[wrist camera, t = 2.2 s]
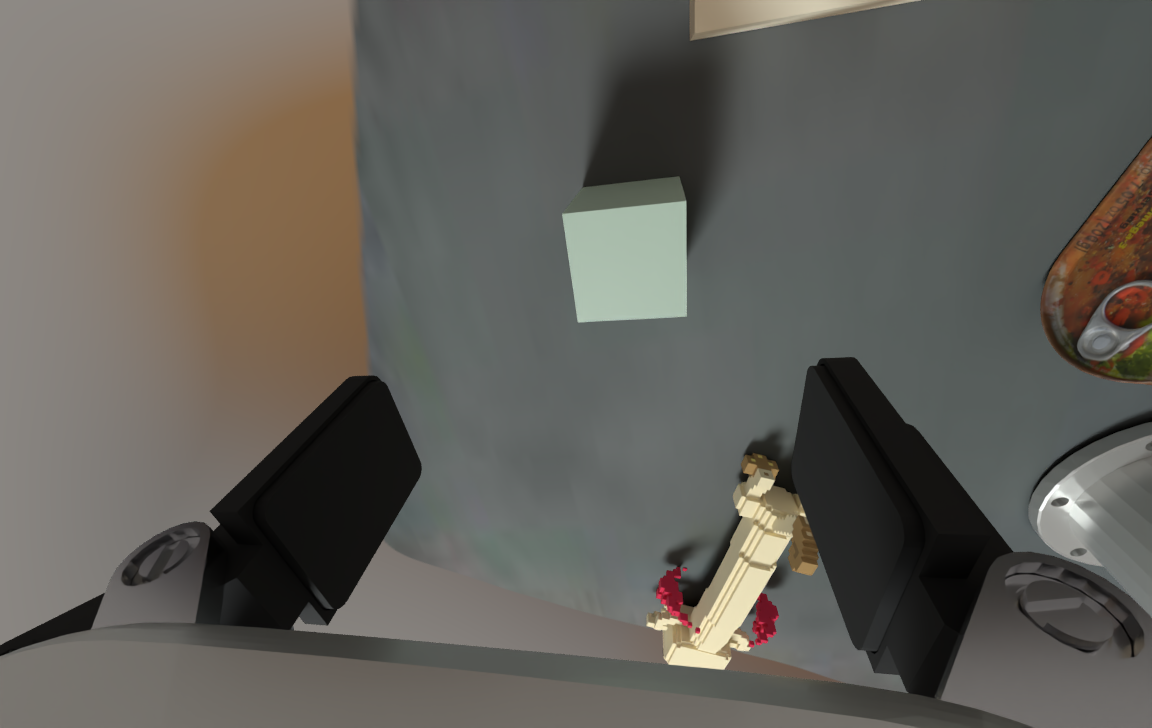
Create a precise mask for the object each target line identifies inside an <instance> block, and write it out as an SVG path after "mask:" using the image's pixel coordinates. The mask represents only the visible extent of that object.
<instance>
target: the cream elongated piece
mask: <svg viewBox="0 0 1152 728" xmlns="http://www.w3.org/2000/svg"><path fill="white" fill-rule="evenodd" d="M741 466H742V470H743V473H746V474H750V476H749V478H748V480H747V482H742V483H741V484H738V486H737V488H736V490H735V492H734V494H733V499H734V503H735V507H736V508H737V509H738V512H739V516H743V517H742V519H741V521H740V523H739V525H738V527H737V529H736V531H735V533H734V535H733V537H732V539H731V541H730V544H731V545H730V547H729V549H728V551H727V553H726V555H725V557H724V559H723V561H722V563H721V565H720V567H719V569H718V571H717V573H716V575H715V577H714V578H713V580H712V582H711V584H710V586H709V588H706V590H705V592H704V594H703V596H702V598H701V600H700V602H699V604H698V605H697V606H695V607H690V606H686V605H682V604H683V595H682V592H679V588H678V582H676V581H675V580H674V577H675V578H679V579H680V578H681V570H680V567H677V568H676V569H673V571H668V570H667V572H666V576H664V577H663V578H660V581H659V588H658V589H657V591H656V598H658V599H661V604H664V607H665V608H666V610H667V611H665V609H664V608H662V609H661V613H662V614H661V613H660V612H656V611H654V614H652V613H648V614H647V626H649V627H653V628H654V629H656V630H660V631H661V630H663V656H664V658H665V660H666V661H667V663H668V664H669V665H680V666H690V667H701V668H711V669H722V670H724V669H725V667H726V666H727V664H728V662H729V661H730V659H731V652H730V647H733V648H737V650H740V651H744V650H745V651H749V650H750V648H751V647H754V641H749V636H748V635H747V634H746V632H743V631H741V629H740V628H738V627H740V626H741V624H742V623H743V621H744V619H745V618H746V616H747V615H748V613H749V611H750V610H751V608H752V606H753V605H754V603H755V602H756V600H757V599H758V600H759V601H760V602H758V603H757V605H756V609H757V612H756V615H757V617H756V621H754V622H753V628H752V630H753V632H755V634H757V637H758V639H756V640H755V642H756V645H761V644H762V643H767V642H768V639H767V638H768V637H773V636H774V635H775V634H776V629H775V625H774V623H775V622H774V621H775V620H777V618H778V617H779V615H778V611H777V608H776V606H774V605H772V602H771V601H768V599H767V595H766V594H763V593H761V592H762V590H763V588H764V587H765V585H766V584H767V582H768V580H769V579H770V577H771V575H772V574H773V572H774V571H775V569H776V567H777V565H776V562H777V560H778V559H779V557H780V555H781V554H782V552H783V550H784V549H785V547H786V545H787V544H788V542H789V540H790V539H791V537H792V539H791V541H792V545H791V547H790V549H789V553H790V555H789V557H788V560H789V563H790V565H791V568H792V571H796V572H798V573H803V574H807V575H811V576H812V574H813V573H814V571H815V570H816V568H817V567H818V564H817V560H818V558H819V557H818V555H817V552H818V548H817V545H816V542H815V540H814V537H813V534H812V532H811V529H810V526H809V523H808V521H807V518H806V515H805V512H804V510H803V507H802V504H801V501H800V499H799V496H798V494H791V493H790V492H786V490H785V488H781V487H776V486H772V485H773V483H774V481H775V477H776V475H777V473H778V471H779V469H778V466H777V464H776V461H772V460H767V458H766V456H764V455H760V454H756V453H753V454H752V455H751V456H750V455H745V457H744V459H743V461H742V463H741ZM751 475H752V476H751ZM686 570H687V568H683V571H686ZM773 634H774V635H773Z"/></svg>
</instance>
